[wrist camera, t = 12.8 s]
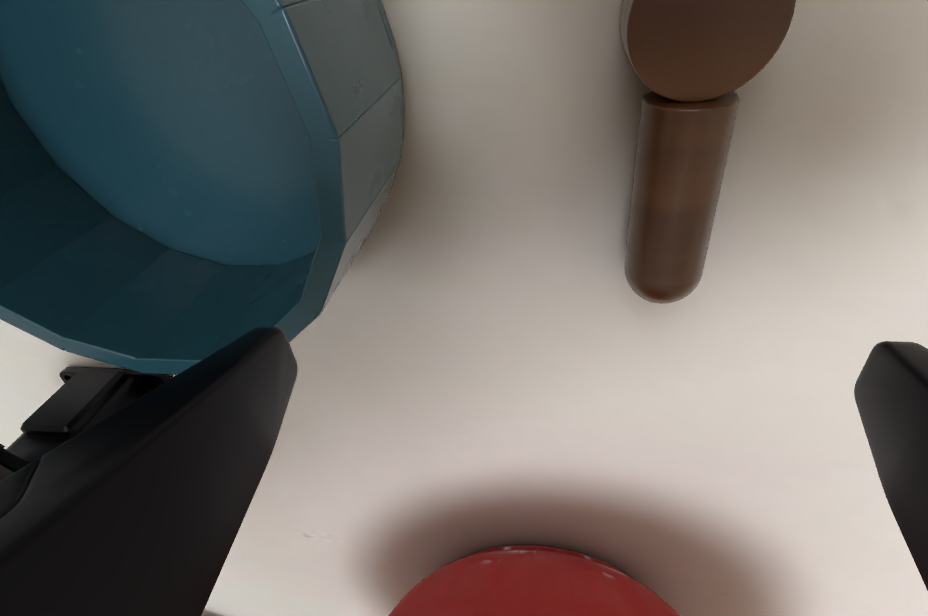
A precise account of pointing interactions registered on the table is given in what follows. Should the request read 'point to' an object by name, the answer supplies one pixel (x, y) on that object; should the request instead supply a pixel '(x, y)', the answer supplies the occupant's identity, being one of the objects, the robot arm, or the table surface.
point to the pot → (188, 168)
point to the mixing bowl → (530, 587)
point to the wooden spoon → (687, 125)
